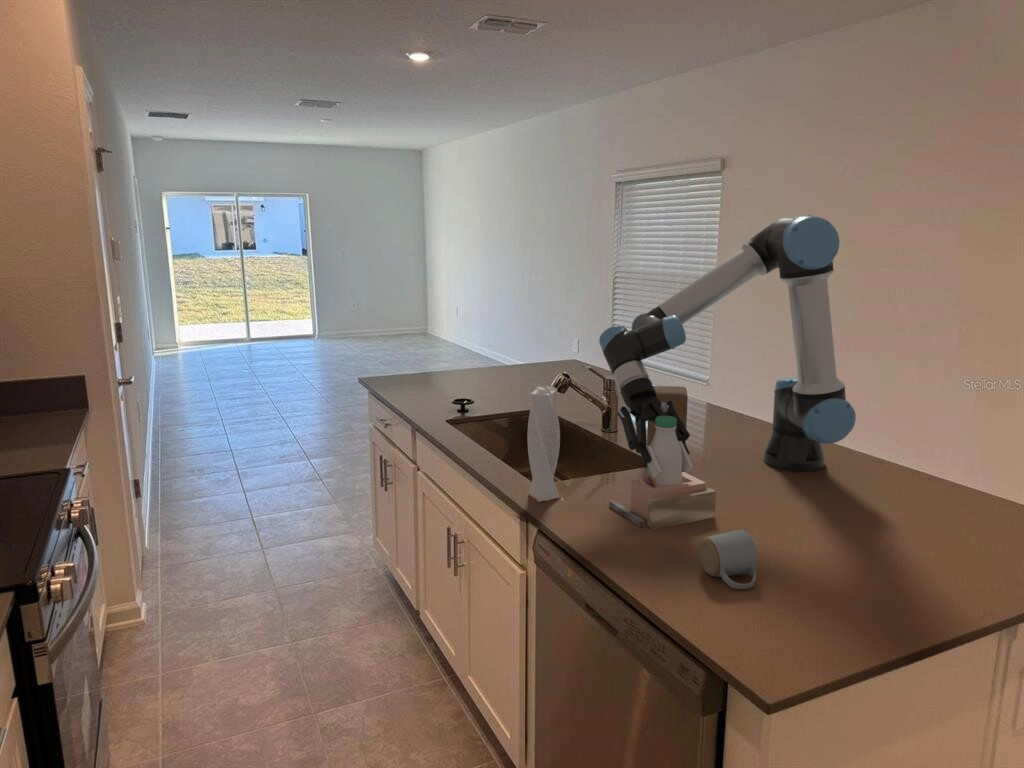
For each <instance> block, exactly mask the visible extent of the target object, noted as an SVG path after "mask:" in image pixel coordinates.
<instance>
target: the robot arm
mask: <svg viewBox="0 0 1024 768" xmlns="http://www.w3.org/2000/svg"><path fill="white" fill-rule="evenodd" d="M840 243H841V242H840V235H839V233H838V231H837V229H836V227H835V226H834V225H833V224H832V223H831V222H830V221H829V220H827V219H825V218H823V217H819V216H815V215H809V214H808V215H802V216H788V217H783V218H780V219H777V220H776V221H774V222H772V223H770V224H769V225H768V226H766V227H765V228H763V229H762V230H761V231H759V232H758V233H756V234H755V235H754V236H753V237H751V238H750V239H748V240H747V241H745V242H744V243H742V245H741V249H740V250H739V251H738V252H736V253H735V254H733V255H731V256H730V257H729V258H727V259H725V260H724V261H723V262H721V263H720V264H718V265H716V266H715V267H714V268H712V269H711V270H709V271H707V272H706V273H705V274H703V275H702V276H700V277H699V278H697V279H696V280H694V281H693V282H691V283H690V284H688V285H687V286H685V287H683V288H682V289H681V290H679V291H678V292H676V293H675V294H673V295H672V296H670V297H669V298H667V299H666V300H665V301H663V302H662V303H660V304H659V305H657V306H655V307H654V308H652V309H651V310H649V311H647V312H644V313H641V314H638V315H637V316H636V317H635V318H633V320H632V323H631V330H628V329H627V327H626V326H624V325H622V324H620V325H619V324H618V325H612V326H610V327H607V328H606V329H605V330H604V331H603V332H602V333H601V334H600V336H599V338H598V339H599V340H598V341H599V343H598V344H599V345H600V349H601V351H602V353H603V357H604V358H605V361H606V362H607V365H608V367H609V370H610V372H611V374H612V376H613V378H614V380H615V384H616V386H617V388H618V390H619V391H620V395H621V398H622V401H623V402H624V405H626V406H621V407H620V409H619V410H618V411H617V413H616V414H617V416H618V417H619V420H620V421H621V423H622V426H623V427H622V428H623V430H624V434H625V438H626V441H627V445H628V448H629V449H630V451H634V450H635V452H636V453H637V454H640V456H641V458H642V460H643V463H644V464H645V465H647V463H648V466H649V468H650V470H651V473H652V475H653V477H654V478H657V477H658V476H659V475H660V474H661V473H662V470H661V468H660V466H659V463H658V461H657V459H656V457H655V454H654V452H653V450H652V448H651V446H647V422H648V421H653V422H654V423H655V418H656V417H658V416H672V417H675V418H676V419H677V425H676V427H677V428H676V429H675V433H676V437H677V438H678V439H677V440H678V442H679V445H680V447H681V451H682V471H683V472H685V473H687V474H688V473H689V472H690V471H691V470H692V469H693V468H694V464H693V463H692V460H691V458H690V456H689V455H690V450H689V448H688V446H687V443H686V444H685V441H686V442H687V440H688V439H689V438H690V437H691V434H690V433H689V431H688V430H687V429H688V428H687V427H686V428H685V426H684V424H683V423H682V421H681V420H680V418H679V416H678V415H677V413H676V412H675V410H674V407H673V403H672V402H671V401H668V402H667V403H662V402H660V400H659V399H658V398H657V397H656V391H655V389H654V387H653V386H654V385H653V383H652V381H651V379H650V375H649V374H648V372H647V370H646V367H645V366H644V363H643V362H642V361H643V360H646V359H648V358H650V357H653V356H656V355H658V354H662V353H665V352H668V351H670V350H674V349H676V348H677V347H679V346H682V345H684V344H685V343H686V340H687V337H686V336H687V335H686V332H685V328H684V326H683V325H684V324H686V323H687V322H688V321H690V320H691V319H693V318H694V317H696V316H698V315H700V313H702V312H704V311H705V310H706V309H708V308H710V307H711V306H714V304H716V303H718V302H719V301H720V300H722V299H724V298H725V297H726V296H728V295H730V294H731V293H733V292H734V291H736V290H737V289H739V288H740V287H741V286H743V285H744V284H746V283H748V282H749V281H751V280H753V279H754V278H756V277H757V276H766V275H767V274H769V273H770V272H773V271H774V270H776V269H778V271H779V272H778V273H779V280H781V281H782V282H784V283H785V284H786V285H787V288H788V297H789V308H790V316H791V318H790V319H791V326H792V335H793V345H794V353H795V363H796V371H797V377H782V378H779V379H777V380H776V382H775V387H774V391H773V393H774V398H773V399H774V400H773V412H772V413H773V416H772V431H771V434H770V437H769V439H768V441H767V443H766V446H765V448H764V451H763V461H764V462H765V463H766V464H768V465H770V466H771V467H775V468H778V469H783V470H788V471H797V472H799V471H800V472H810V471H816V470H820V469H822V468H824V467H825V458H826V457H825V454H824V451H823V447H822V444H825V445H827V444H828V445H829V444H835V443H839V442H840V441H842V440H844V439H846V437H847V436H848V435H849V433H851V432H852V431H853V429H854V427H855V425H856V419H857V418H856V412H855V408H854V407H853V406H852V404H851V403H850V402H849V401H848V400H847V396H846V388H845V387H846V386H845V382H843V381H842V380H841V379H839V378H838V376H837V366H836V357H835V346H834V345H835V344H834V337H833V335H834V334H833V325H832V317H831V307H830V306H831V305H830V296H829V294H830V293H829V286H828V285H829V284H828V278H830V277H831V275H832V274H833V273H834V272H835V271H834V270H835V269H834V259H835V257H836V256H837V255H838V252H839V249H840V245H841V244H840ZM660 408H661V409H662V410H663V411H662V410H661V409H660ZM664 413H665V414H664ZM632 416H633V417H634V420H633V418H632ZM633 421H634V422H635V424H634V422H633ZM634 425H635V426H636V427H635V426H634ZM635 428H636V429H635Z"/></svg>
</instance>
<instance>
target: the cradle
mask: <svg viewBox="0 0 1024 768" xmlns="http://www.w3.org/2000/svg"><path fill="white" fill-rule="evenodd" d="M703 489H707V482H705V481H703V480H701V479H699V478H698V477H696V476H694V475H691V474H689V473H688V472H687V473H685V472H684V471H682V483H681V484H675V485H669V486H664V487H658V488H653V487H652V486H650V485H648V484H646V481H643V480H641V479H639V478H638V479H633V480H630V511H631V512H633V513H634V514H636V515H637V516H639V517H640V518H642V519H643V520H645V521H646V522H647V516H648V499H653V498H658V497H664V496H669V495H675V494H681V493H686V492H692V491H697V490H703Z"/></svg>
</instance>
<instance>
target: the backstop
mask: <svg viewBox="0 0 1024 768" xmlns="http://www.w3.org/2000/svg"><path fill="white" fill-rule="evenodd" d="M716 496H717V490H715V489H713V488H708V487H707V488H706V489H703V490H697V491H692V492H686V493H681V494H675V495H669V496H664V497H658V498H653V499H648V516H647V521H646V520H644V519H643V518H641V517H640V516H638V515H637V514H635V513H634V512H632V511H631V509H628V508H626V507H625V506H624V505H622V504H621V503H619V502H617V501H615V500H614V499H612V500H609V502H608V503H609V505H608V506H609V507H610V506H611V507H610V508H612V507H613V508H614V509H615V510H614V509H613V508H612V509H613V510H614V511H616V510H617V511H618V512H617V511H616V512H617V513H619V514H620V513H621V514H620V515H621V516H623V515H624V516H623V517H624V518H626V517H627V518H626V519H627V520H629V519H630V520H629V521H631V520H632V521H633V522H632V521H631V522H632V523H634V524H635V523H636V524H635V525H637V526H638V525H639V526H640V527H639V526H638V527H639V528H645V527H648V528H649V527H650V528H649V529H651V530H652V529H653V530H658V529H662V527H663V528H668V527H672V526H678V525H682V524H683V525H684V524H688V523H692V522H697V521H702V520H707V519H713V518H715V517H716V498H717V497H716ZM646 523H647V524H646ZM644 526H645V527H644ZM657 528H658V529H657Z"/></svg>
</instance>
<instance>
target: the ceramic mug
mask: <svg viewBox="0 0 1024 768" xmlns="http://www.w3.org/2000/svg"><path fill="white" fill-rule="evenodd" d="M698 552H699V553H698V554H699V560H700V563H701V566H702V568H703V569H704V571H705V573H706V574H708V576H711V577H714V578H722V580H723V582H725V584H727V586H729V587H730V588H732V589H734V588H735V589H734V590H738V589H747V590H749V588H750V589H751V588H753V586H754V585H755V582H756V581H757V580H756V579H757V573H756V572H757V571H756V569H757V568H758V562H759V559H758V558H759V557H758V551H757V547H756V544H755V542H754V540H753V539H752V537H751V535H750V534H749V533H748V532H747V531H746V530H743V529H737V530H733V531H728V532H723V533H719V534H714V535H711V536H710V535H709V536H708V537H705V538H703V539H702V540H701V542H700V544H699V549H698ZM748 574H751V578H752V579H751V581H749V582H748V583H739V582H736V581H734V580H732V579H731V578H730V576H739V575H748Z"/></svg>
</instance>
